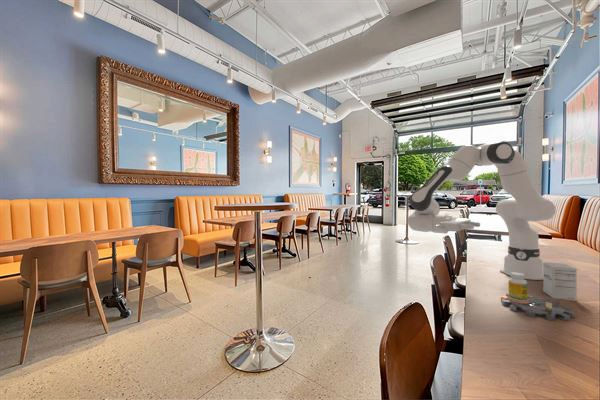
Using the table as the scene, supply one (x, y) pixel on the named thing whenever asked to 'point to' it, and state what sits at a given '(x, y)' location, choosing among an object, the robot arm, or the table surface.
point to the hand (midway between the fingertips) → (476, 225)
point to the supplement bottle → (518, 287)
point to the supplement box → (560, 281)
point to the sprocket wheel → (539, 308)
